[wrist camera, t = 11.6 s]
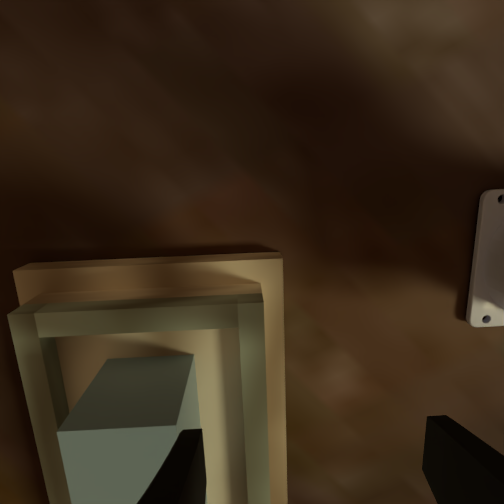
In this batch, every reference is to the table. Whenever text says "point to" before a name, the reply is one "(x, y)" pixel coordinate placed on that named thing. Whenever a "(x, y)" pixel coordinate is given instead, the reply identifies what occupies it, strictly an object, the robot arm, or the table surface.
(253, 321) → the beige shallow rectangular tray
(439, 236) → the table surface
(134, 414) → the tall sage green box
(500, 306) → the robot arm
